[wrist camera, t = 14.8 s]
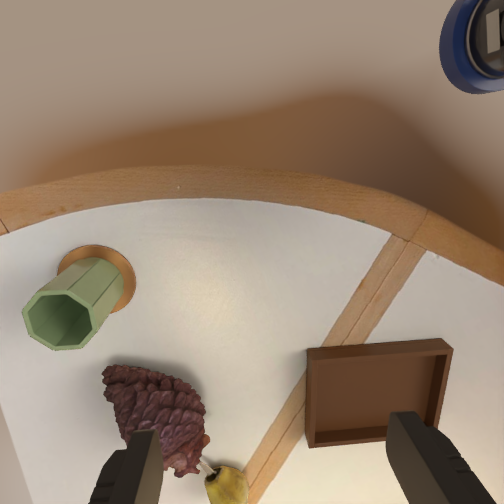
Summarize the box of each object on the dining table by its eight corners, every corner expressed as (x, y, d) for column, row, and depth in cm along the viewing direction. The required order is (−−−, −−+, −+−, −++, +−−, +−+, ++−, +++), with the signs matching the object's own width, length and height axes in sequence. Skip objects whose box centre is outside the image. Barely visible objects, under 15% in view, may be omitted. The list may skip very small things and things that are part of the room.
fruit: (213, 443, 49) (262, 479, 50) (192, 456, 52) (239, 490, 53) (199, 483, 44) (254, 522, 45) (177, 495, 47) (230, 531, 48)
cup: (119, 255, 38) (88, 288, 29) (128, 304, 40) (101, 347, 31) (63, 258, 37) (15, 292, 29) (74, 307, 39) (33, 352, 31)
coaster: (130, 242, 38) (128, 244, 37) (141, 310, 41) (139, 312, 40) (51, 247, 37) (48, 248, 37) (68, 315, 40) (66, 317, 40)
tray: (441, 338, 46) (453, 349, 44) (426, 422, 51) (436, 436, 49) (307, 348, 45) (312, 360, 42) (304, 433, 50) (309, 448, 47)
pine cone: (86, 389, 44) (64, 405, 35) (142, 334, 47) (136, 335, 38) (178, 478, 44) (181, 518, 35) (227, 417, 48) (242, 438, 38)
